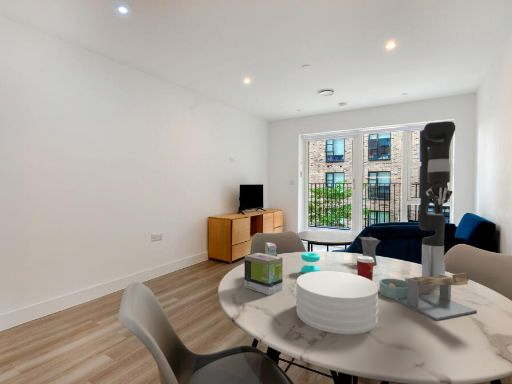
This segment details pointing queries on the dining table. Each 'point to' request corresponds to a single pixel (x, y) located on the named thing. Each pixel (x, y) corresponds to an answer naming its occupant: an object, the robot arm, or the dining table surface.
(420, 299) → the stand
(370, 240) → the coffeepot
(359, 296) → the plate stack
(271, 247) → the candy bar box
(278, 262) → the tea box
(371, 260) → the paper cup
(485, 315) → the dining table surface
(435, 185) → the robot arm
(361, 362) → the dining table surface
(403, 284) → the bowl
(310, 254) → the donuts
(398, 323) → the dining table surface
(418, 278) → the lever
